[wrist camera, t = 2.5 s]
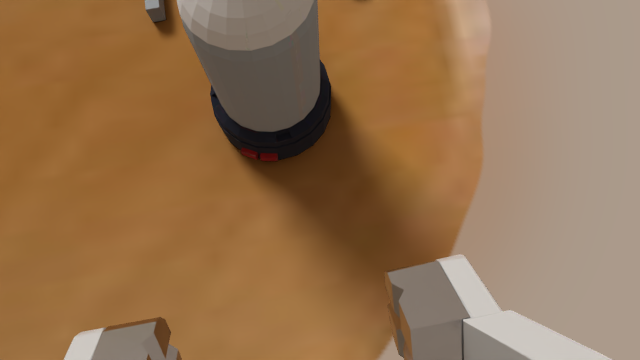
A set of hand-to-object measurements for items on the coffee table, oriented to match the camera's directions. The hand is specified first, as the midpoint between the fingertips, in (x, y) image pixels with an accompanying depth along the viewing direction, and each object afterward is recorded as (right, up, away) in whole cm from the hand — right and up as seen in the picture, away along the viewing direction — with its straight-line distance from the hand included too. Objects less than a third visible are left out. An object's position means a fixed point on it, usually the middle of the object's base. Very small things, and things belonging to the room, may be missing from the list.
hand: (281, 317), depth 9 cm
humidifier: (-2, +8, +25) cm, 26 cm away
